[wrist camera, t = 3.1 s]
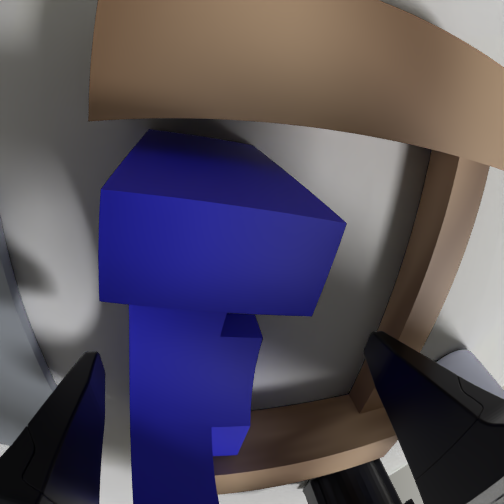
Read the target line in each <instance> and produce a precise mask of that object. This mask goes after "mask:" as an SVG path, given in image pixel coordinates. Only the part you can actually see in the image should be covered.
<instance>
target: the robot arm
mask: <svg viewBox="0 0 504 504" xmlns="http://www.w3.org/2000/svg"><path fill="white" fill-rule="evenodd" d="M364 355H365V358H366V361H367V364H368V367H369V370H370V373H371V376H372V379H373V382H374V385H375V388H376V390H377V393H378V395H379V397H380V399H381V402H382V404H383V406H384V408H385V411H386V413H387V415H388V417H389V420H390V422H391V424H392V427H393V429H394V431H395V434H396V436H397V438H398V441H399V443H400V445H401V448H402V450H403V452H404V455H405V457H406V460H407V462H408V464H409V467H410V469H411V472H412V474H413V477H414V479H415V482H416V484H417V487H418V489H419V492H420V495H421V497H422V500H423V503H424V504H504V399H503V398H500V397H498V396H496V395H494V394H492V393H490V392H488V391H486V390H484V389H482V388H480V387H478V386H476V385H474V384H472V383H470V382H469V381H467V380H465V379H463V378H462V377H460V376H457V375H456V374H455V373H453V372H451V371H450V370H448V369H446V368H445V367H443V366H441V365H439V364H438V363H436V362H434V361H433V360H431V359H429V358H428V357H426V356H424V355H422V354H421V353H419V352H417V351H416V350H414V349H412V348H411V347H409V346H407V345H405V344H404V343H402V342H400V341H399V340H397V339H395V338H394V337H392V336H390V335H388V334H387V333H385V332H383V331H376V332H372V333H371V334H370V336H369V338H368V341H367V343H366V346H365V348H364ZM104 423H105V370H104V367H103V364H102V360H101V357H100V354H99V353H98V352H85V353H84V354H83V356H82V357H81V358H80V359H79V360H78V362H77V363H76V364H75V365H74V366H73V368H72V369H71V370H70V371H69V372H68V374H67V375H66V376H65V377H64V379H63V380H62V381H61V382H60V384H59V385H58V386H57V387H56V388H55V390H54V391H53V392H52V393H51V395H50V396H49V397H48V399H47V400H46V401H45V402H44V404H43V405H42V406H41V407H40V409H39V410H38V411H37V413H36V414H35V415H34V416H33V418H32V419H31V420H30V422H29V423H28V426H26V427H25V428H24V429H23V431H22V432H21V433H20V435H19V436H18V437H17V438H16V440H15V441H14V442H13V444H12V445H11V446H10V447H9V448H8V449H7V450H6V452H5V453H4V454H3V455H2V456H1V457H0V504H99V494H100V472H101V457H102V444H103V433H104ZM303 492H304V494H305V496H306V499H307V502H308V504H402V502H401V500H400V498H399V496H398V494H397V492H396V490H395V488H394V486H393V484H392V482H391V480H390V478H389V476H388V474H387V472H386V470H385V468H384V466H383V464H382V462H381V460H380V458H379V459H376V460H373V461H370V462H367V463H364V464H361V465H358V466H355V467H352V468H349V469H345V470H342V471H339V472H335V473H331V474H328V475H324V476H320V477H316V478H312V479H310V480H309V482H308V483H307V485H306V486H305V487H304V489H303ZM405 504H414V502H413V500H412V499H410V500H408V501H406V503H405Z"/></svg>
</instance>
